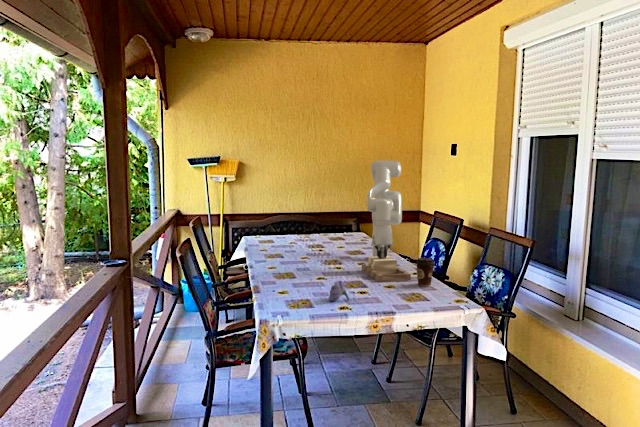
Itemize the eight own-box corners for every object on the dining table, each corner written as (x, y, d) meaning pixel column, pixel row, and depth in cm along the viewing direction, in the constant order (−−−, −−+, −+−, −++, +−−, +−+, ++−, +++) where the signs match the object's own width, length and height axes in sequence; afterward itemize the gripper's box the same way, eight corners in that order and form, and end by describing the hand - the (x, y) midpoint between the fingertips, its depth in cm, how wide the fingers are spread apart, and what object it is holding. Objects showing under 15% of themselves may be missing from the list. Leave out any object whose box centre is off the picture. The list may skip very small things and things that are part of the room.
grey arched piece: (352, 282, 213) (333, 274, 210) (354, 295, 206) (334, 286, 203) (341, 297, 217) (322, 289, 214) (343, 310, 209) (323, 302, 206)
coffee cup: (419, 287, 231) (420, 261, 229) (412, 283, 239) (412, 257, 237) (436, 286, 233) (437, 260, 232) (428, 282, 241) (429, 256, 240)
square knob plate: (367, 269, 264) (367, 245, 263) (387, 268, 267) (388, 245, 266) (375, 274, 253) (375, 249, 251) (396, 273, 256) (397, 248, 254)
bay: (361, 270, 266) (361, 264, 266) (390, 269, 270) (390, 263, 270) (378, 282, 241) (378, 275, 240) (410, 280, 245) (410, 274, 245)
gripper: (394, 222, 263) (393, 255, 265) (365, 222, 259) (365, 256, 261) (399, 223, 256) (398, 258, 258) (370, 224, 252) (370, 259, 254)
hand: (382, 257), depth 259 cm, fingers closed on square knob plate, 2 cm apart
